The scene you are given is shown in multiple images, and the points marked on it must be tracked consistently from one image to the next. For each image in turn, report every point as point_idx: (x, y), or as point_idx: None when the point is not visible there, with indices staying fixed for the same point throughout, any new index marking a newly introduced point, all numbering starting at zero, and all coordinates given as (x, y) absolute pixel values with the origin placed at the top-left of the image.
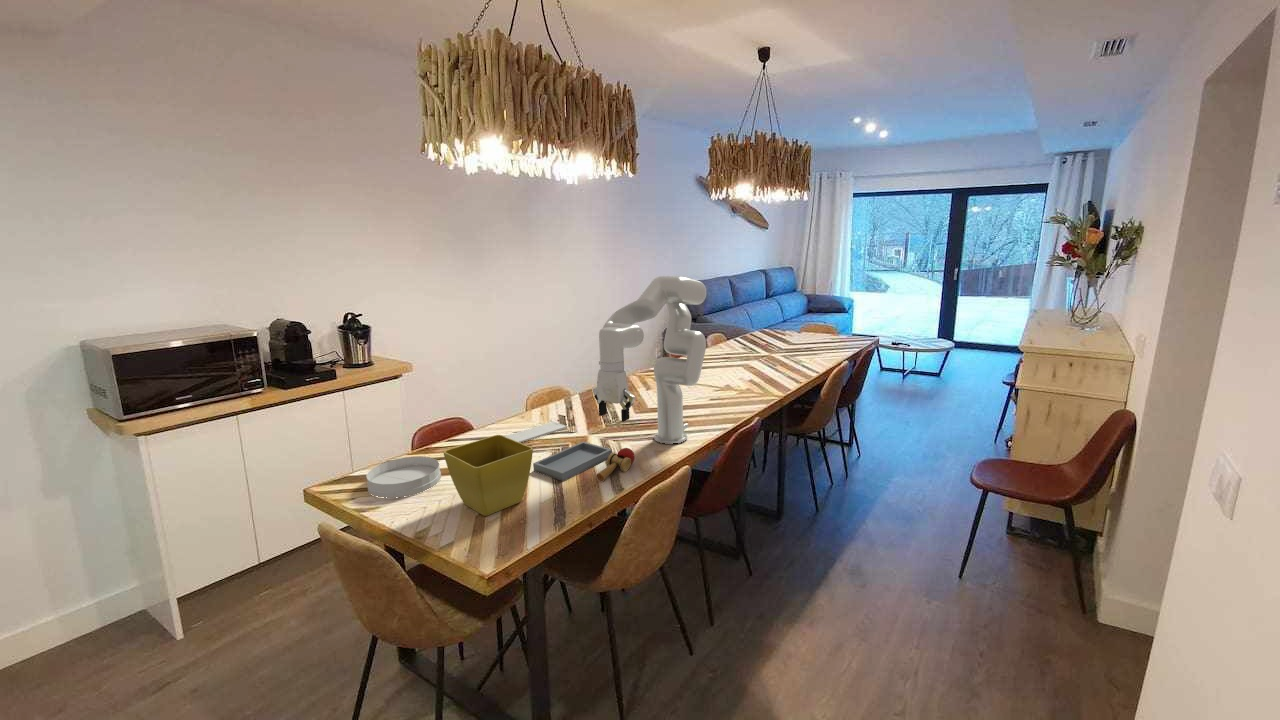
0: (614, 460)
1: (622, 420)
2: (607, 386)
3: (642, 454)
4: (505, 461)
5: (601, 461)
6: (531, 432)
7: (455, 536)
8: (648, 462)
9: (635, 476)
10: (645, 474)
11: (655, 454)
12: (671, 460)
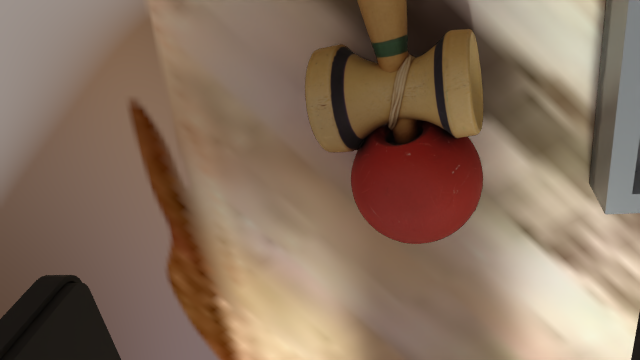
0: (414, 67)
1: (45, 280)
2: None
3: (442, 303)
4: None
5: (601, 76)
6: None
7: None
8: (332, 245)
9: (234, 60)
10: (216, 119)
11: (381, 334)
12: (261, 319)
